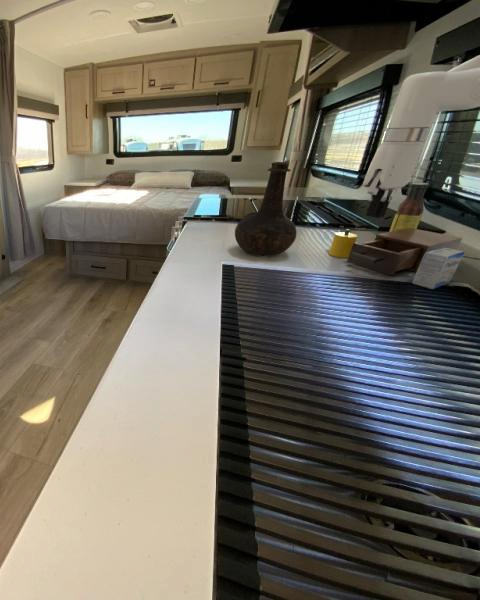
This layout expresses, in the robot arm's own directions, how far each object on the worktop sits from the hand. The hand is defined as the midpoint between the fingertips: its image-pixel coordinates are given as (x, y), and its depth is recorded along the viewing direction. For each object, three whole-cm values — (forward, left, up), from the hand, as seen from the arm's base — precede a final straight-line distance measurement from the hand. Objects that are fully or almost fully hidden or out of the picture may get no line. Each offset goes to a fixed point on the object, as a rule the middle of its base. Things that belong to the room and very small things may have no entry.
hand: (374, 216), depth 85 cm
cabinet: (0, -24, -16) cm, 29 cm away
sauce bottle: (+10, -37, -16) cm, 41 cm away
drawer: (0, -10, -15) cm, 18 cm away
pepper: (+12, -12, -16) cm, 23 cm away
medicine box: (-12, -10, -16) cm, 23 cm away
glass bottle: (+25, +7, -16) cm, 31 cm away
